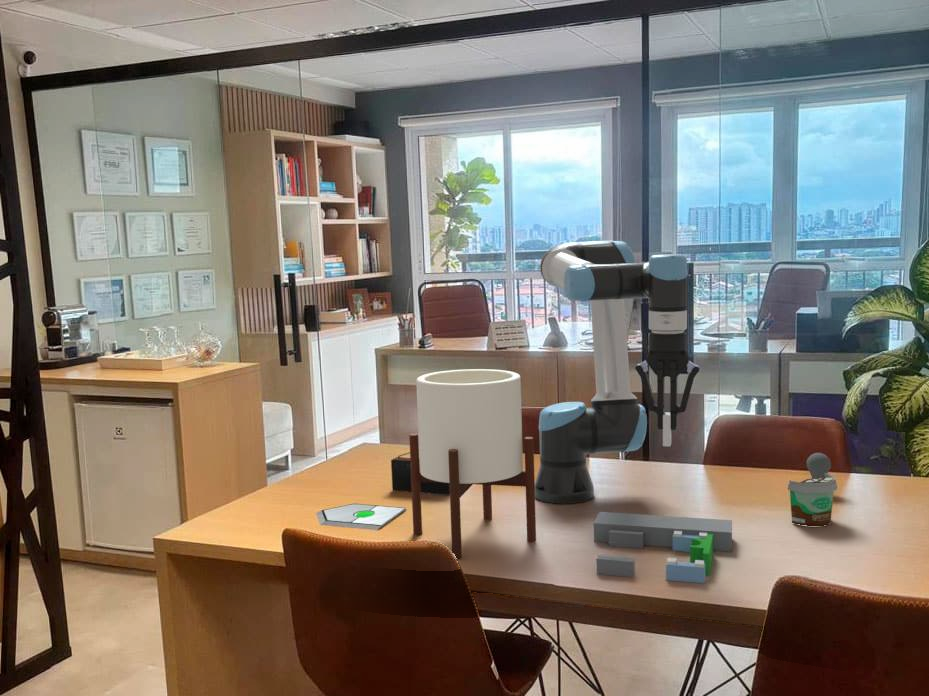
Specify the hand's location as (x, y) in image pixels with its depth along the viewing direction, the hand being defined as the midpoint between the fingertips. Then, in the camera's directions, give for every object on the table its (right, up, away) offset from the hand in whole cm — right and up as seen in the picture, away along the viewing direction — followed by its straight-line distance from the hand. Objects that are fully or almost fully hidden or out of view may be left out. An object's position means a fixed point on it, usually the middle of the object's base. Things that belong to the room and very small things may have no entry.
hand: (667, 444), depth 173 cm
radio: (-52, -18, +48) cm, 73 cm away
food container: (+36, -19, +12) cm, 43 cm away
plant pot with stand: (-40, -22, +11) cm, 47 cm away
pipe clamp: (+5, -23, -9) cm, 25 cm away
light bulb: (+46, -16, +35) cm, 60 cm away
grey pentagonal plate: (-69, -21, +30) cm, 78 cm away
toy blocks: (-2, -22, -3) cm, 22 cm away
